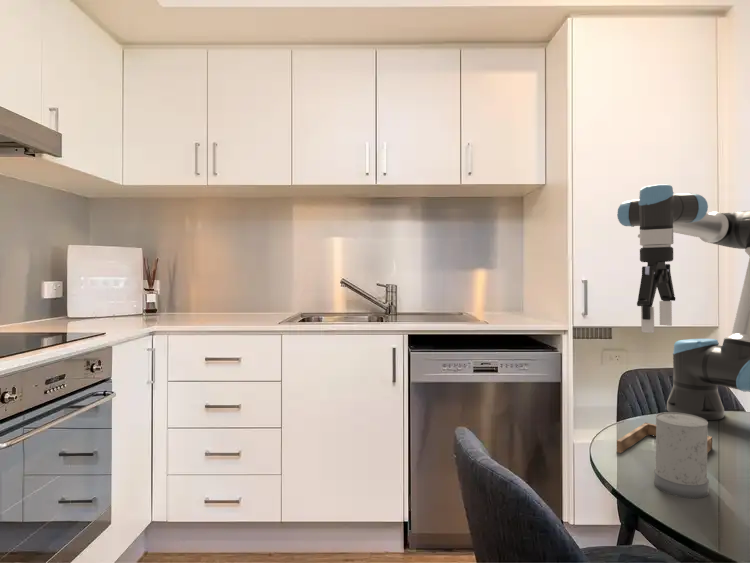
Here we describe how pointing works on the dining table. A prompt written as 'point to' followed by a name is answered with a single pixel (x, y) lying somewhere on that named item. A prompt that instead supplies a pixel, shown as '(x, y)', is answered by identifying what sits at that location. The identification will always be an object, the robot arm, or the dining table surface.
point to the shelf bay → (641, 433)
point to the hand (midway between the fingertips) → (657, 328)
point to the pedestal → (681, 488)
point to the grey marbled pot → (681, 448)
